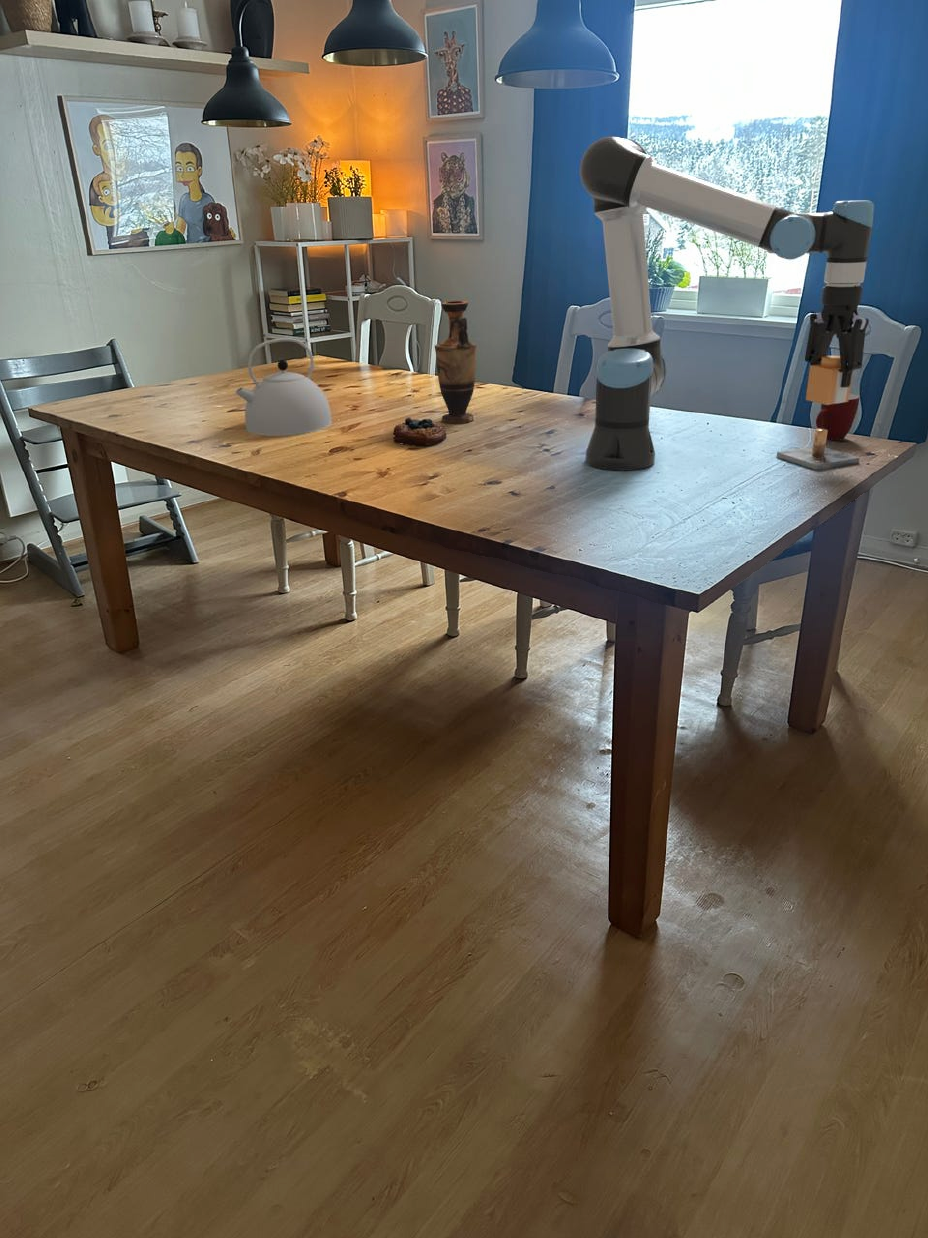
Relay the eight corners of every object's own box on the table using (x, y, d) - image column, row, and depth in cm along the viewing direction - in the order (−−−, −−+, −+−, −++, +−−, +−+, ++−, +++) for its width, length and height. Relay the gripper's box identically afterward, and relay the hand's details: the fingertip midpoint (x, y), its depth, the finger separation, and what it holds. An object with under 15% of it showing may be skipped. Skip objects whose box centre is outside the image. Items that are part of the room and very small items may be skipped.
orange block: (826, 404, 187) (832, 360, 183) (805, 399, 192) (811, 356, 188) (848, 401, 189) (854, 357, 185) (827, 396, 194) (833, 353, 190)
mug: (832, 446, 206) (839, 402, 202) (802, 439, 212) (808, 397, 208) (859, 438, 212) (866, 396, 207) (829, 432, 218) (835, 391, 213)
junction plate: (816, 470, 189) (820, 439, 186) (776, 457, 199) (780, 427, 196) (858, 463, 193) (863, 432, 191) (817, 450, 203) (822, 421, 200)
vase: (431, 418, 242) (427, 301, 229) (469, 414, 245) (466, 298, 232) (445, 426, 233) (441, 305, 220) (484, 422, 236) (482, 302, 223)
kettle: (257, 442, 223) (245, 349, 213) (224, 425, 240) (212, 338, 230) (346, 427, 235) (339, 338, 226) (310, 412, 252) (301, 329, 243)
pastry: (413, 434, 228) (411, 410, 225) (453, 439, 222) (452, 415, 219) (388, 444, 219) (386, 420, 217) (429, 449, 213) (428, 425, 211)
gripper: (895, 286, 174) (875, 405, 184) (822, 280, 190) (808, 390, 200) (866, 288, 171) (848, 409, 181) (795, 282, 187) (781, 394, 197)
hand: (827, 399), depth 190 cm, fingers closed on orange block, 6 cm apart
